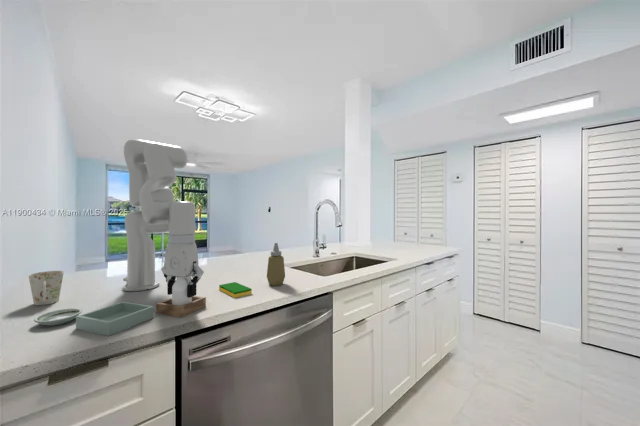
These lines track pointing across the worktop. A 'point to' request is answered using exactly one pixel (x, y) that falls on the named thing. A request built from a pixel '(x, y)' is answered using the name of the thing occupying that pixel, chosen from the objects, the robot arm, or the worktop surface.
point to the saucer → (57, 316)
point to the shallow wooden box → (180, 307)
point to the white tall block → (180, 292)
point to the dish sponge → (235, 289)
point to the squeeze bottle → (275, 267)
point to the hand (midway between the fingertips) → (181, 294)
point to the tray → (114, 318)
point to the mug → (46, 287)
